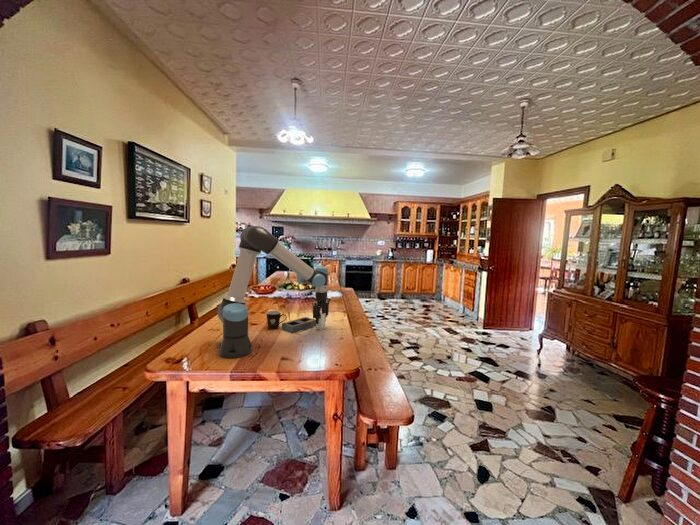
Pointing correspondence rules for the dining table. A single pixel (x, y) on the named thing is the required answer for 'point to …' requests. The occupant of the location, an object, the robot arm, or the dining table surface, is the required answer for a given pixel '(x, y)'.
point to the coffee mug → (274, 319)
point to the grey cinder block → (298, 325)
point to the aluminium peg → (322, 320)
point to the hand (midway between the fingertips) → (320, 327)
